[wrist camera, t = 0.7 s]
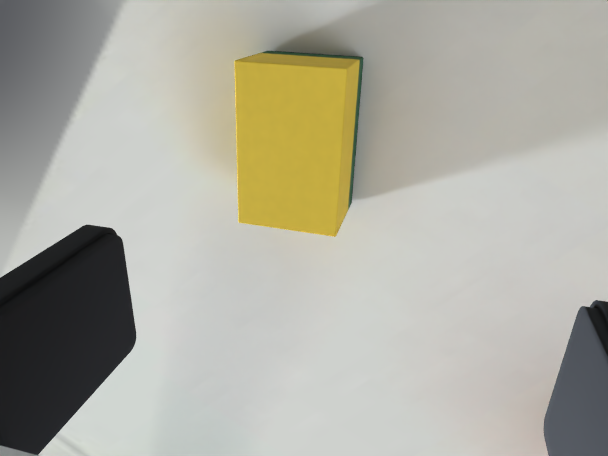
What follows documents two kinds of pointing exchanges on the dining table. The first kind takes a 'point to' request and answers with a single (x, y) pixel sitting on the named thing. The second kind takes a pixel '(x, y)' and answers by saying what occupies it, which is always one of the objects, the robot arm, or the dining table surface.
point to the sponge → (296, 139)
